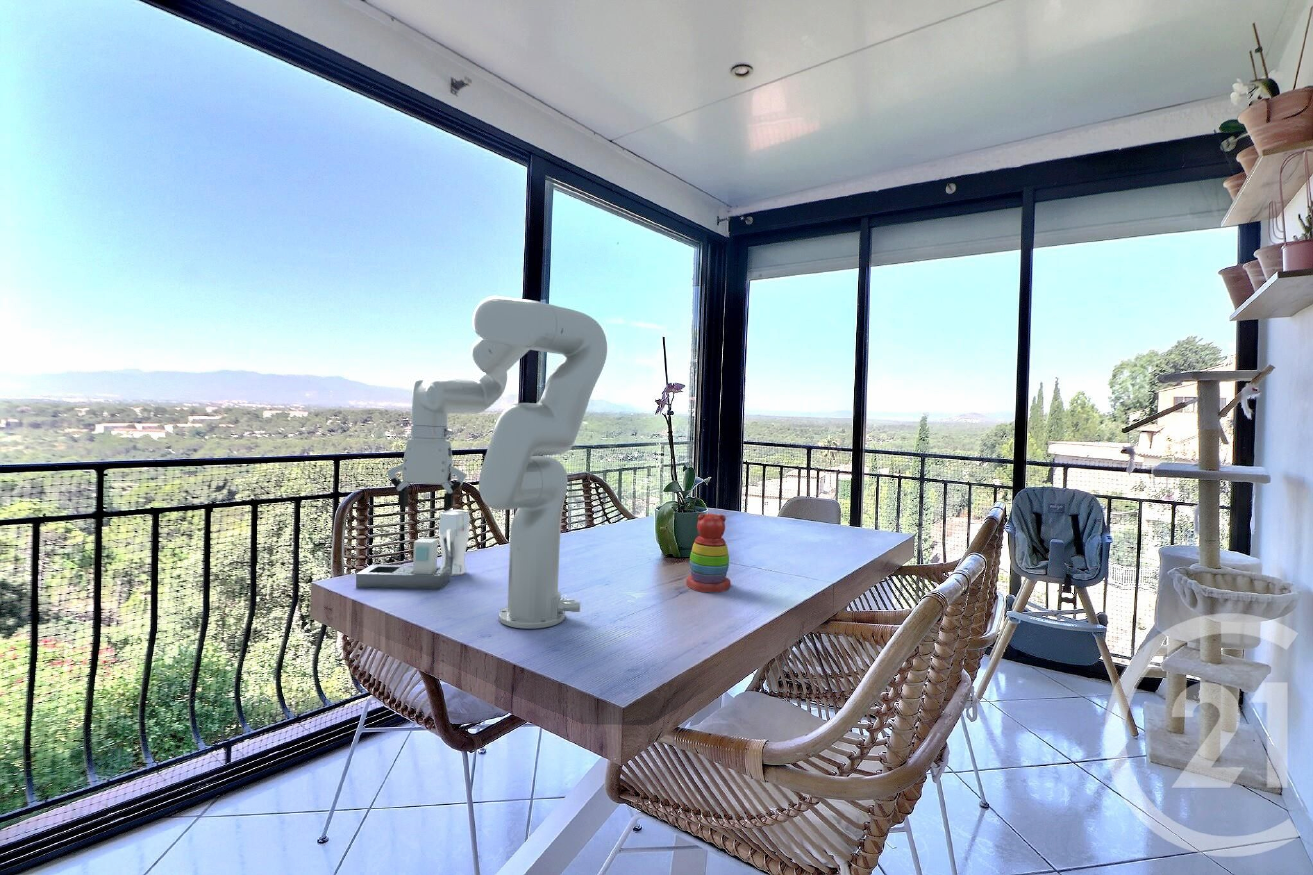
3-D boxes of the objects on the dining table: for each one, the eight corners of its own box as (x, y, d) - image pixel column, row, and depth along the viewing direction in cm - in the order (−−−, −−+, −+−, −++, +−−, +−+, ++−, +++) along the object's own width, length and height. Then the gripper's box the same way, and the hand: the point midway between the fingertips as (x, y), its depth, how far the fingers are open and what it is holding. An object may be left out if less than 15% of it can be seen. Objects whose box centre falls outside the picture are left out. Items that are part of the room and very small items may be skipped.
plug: (436, 581, 138) (437, 538, 137) (429, 587, 133) (430, 543, 133) (418, 581, 138) (420, 538, 137) (411, 587, 133) (412, 542, 132)
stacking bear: (730, 583, 148) (733, 511, 147) (731, 595, 138) (735, 518, 137) (686, 580, 149) (690, 509, 148) (684, 591, 139) (688, 515, 138)
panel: (449, 579, 140) (450, 566, 140) (439, 589, 132) (439, 576, 132) (371, 577, 139) (371, 564, 139) (355, 587, 131) (356, 573, 131)
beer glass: (462, 577, 142) (464, 514, 142) (433, 575, 142) (435, 513, 142) (471, 569, 149) (473, 510, 149) (444, 568, 149) (446, 509, 149)
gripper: (472, 435, 139) (468, 508, 140) (396, 430, 138) (393, 504, 139) (463, 436, 131) (459, 513, 132) (383, 432, 130) (379, 509, 131)
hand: (425, 508), depth 135 cm, fingers open, 9 cm apart
